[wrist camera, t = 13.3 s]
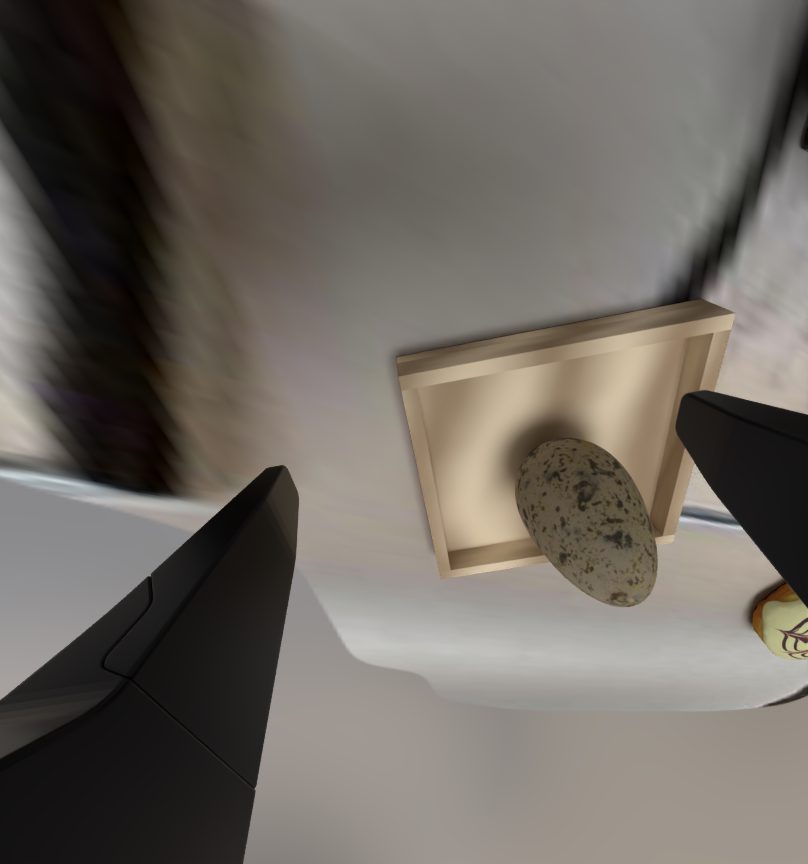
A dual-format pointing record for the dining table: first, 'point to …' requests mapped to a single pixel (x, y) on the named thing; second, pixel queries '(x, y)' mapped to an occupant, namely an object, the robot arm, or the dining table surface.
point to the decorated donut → (783, 624)
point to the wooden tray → (554, 420)
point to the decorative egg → (588, 520)
